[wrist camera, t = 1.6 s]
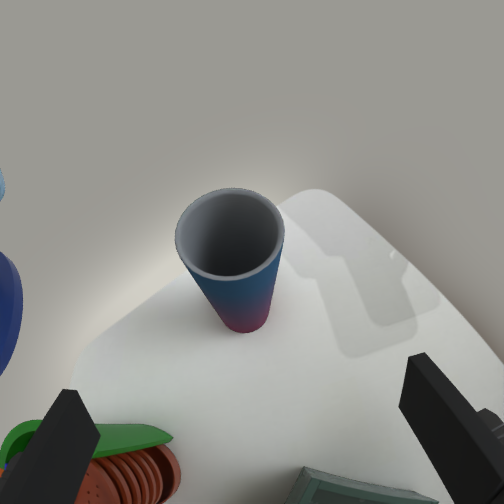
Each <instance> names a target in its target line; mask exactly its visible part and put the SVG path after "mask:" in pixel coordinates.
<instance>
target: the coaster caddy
mask: <svg viewBox="0 0 504 504" xmlns="http://www.w3.org/2000/svg"><path fill="white" fill-rule="evenodd" d="M41 422H42V420H30V421H26V422H23V423H21V424H19V425H18V426H16V427H15V428H13V429H12V430H11V431H10V433H9V434H8V435H7V437H6V438H5V440H4V442H3V444H2V447H1V450H0V477H2V476H1V475H2V473H3V471H4V470H6V466H7V464H8V463H9V461H10V459H11V458H12V457H13V456H15V455H16V454H17V453H18V452H19V451H20V452H23V451H24V450H25V448H26V446H27V445H28V443H29V441H30V440H31V438H32V436H33V435H34V433H35V431H36V430H37V428H38V427H39V425H40V423H41ZM95 426H96V428H97V429H98V431H99V433H100V435H101V437H100V439H99V442H98V444H97V447H96V449H95V451H94V454H93V456H92V459H91V461H90V464H89V466H88V469H87V471H86V474H85V476H84V479H83V481H82V484H81V486H80V489H79V492H78V494H77V497H76V500H75V502H74V504H163V503H164V502H165V501H167V500H168V499H169V498H170V497H171V496H172V495H173V494H174V493H175V492H176V491H177V489H178V487H179V484H180V480H181V472H180V467H179V464H178V461H177V459H176V457H175V456H174V454H173V453H172V452H171V451H170V450H169V449H168V448H167V447H166V446H165V445H164V443H168V442H170V441H171V440H172V438H173V437H172V436H171V435H169V434H168V433H166V432H164V431H163V430H161V429H158V428H156V427H153V426H149V425H144V424H95Z"/></svg>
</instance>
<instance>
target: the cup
mask: <svg viewBox="0 0 504 504" xmlns="http://www.w3.org/2000/svg"><path fill="white" fill-rule="evenodd" d="M284 233H285V229H284V223H283V219H282V217H281V214H280V212H279V211H278V209H277V208H276V207H275V205H274V204H273V203H272V202H271V201H269V200H268V199H267V198H265V197H264V196H262V195H261V194H259V193H256V192H254V191H250V190H246V189H241V188H226V189H220V190H216V191H212V192H210V193H207V194H205V195H203V196H201V197H200V198H198V199H196V200H195V201H194V202H193V203H192V204H190V206H188V207H187V209H186V210H185V211H184V212H183V214H182V215H181V217H180V219H179V221H178V223H177V227H176V230H175V244H176V249H177V252H178V254H179V256H180V258H181V260H182V261H183V263H184V265H185V266H186V268H187V269H188V271H189V272H190V274H191V275H192V277H193V278H194V280H195V281H196V283H197V284H198V286H199V287H200V289H201V290H202V292H203V293H204V295H205V296H206V297H207V299H208V300H209V302H210V303H211V305H212V306H213V308H214V309H215V311H216V312H217V313H218V315H219V316H220V318H221V319H222V321H223V322H224V323H225V325H226V326H227V327H228V328H230V329H231V330H233V331H235V332H239V333H249V332H253V331H255V330H257V329H259V328H260V327H261V326H262V325H263V324H264V323H265V321H266V319H267V317H268V313H269V309H270V304H271V299H272V295H273V290H274V285H275V281H276V276H277V271H278V266H279V261H280V256H281V252H282V247H283V242H284Z"/></svg>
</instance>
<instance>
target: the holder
mask: <svg viewBox="0 0 504 504" xmlns="http://www.w3.org/2000/svg"><path fill="white" fill-rule="evenodd" d="M438 503H439V501H437V500H434V499H432V498H429V497H426V496H424V495H421V494H419V493H416V492H414V491H409V490H402V489H396V488H390V487H385V486H379V485H374V484H370V483H365V482H360V481H356V480H352V479H348V478H344V477H340V476H336V475H332V474H329V473H325V472H321V471H318V470H315V469H311V468H308V467H305V466H304V467H303V468H302V471H301V473H300V475H299V477H298V479H297V481H296V483H295V485H294V487H293V489H292V490H291V492H290V494H289V496H288V498H287V500H286V502H285V504H438Z"/></svg>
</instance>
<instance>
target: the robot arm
mask: <svg viewBox="0 0 504 504" xmlns="http://www.w3.org/2000/svg"><path fill="white" fill-rule="evenodd" d="M4 192H5V183H4V179H3V175H2V172H1V170H0V201H1V199H2V198H3V196H4ZM399 409H400V410H401V412H402V414H403V415H404V417H405V418H406V420H407V422H408V423H409V425H410V427H411V428H412V430H413V432H414V433H415V435H416V437H417V439H418V440H419V442H420V444H421V445H422V447H423V449H424V450H425V452H426V454H427V456H428V457H429V459H430V461H431V463H432V464H433V466H434V468H435V469H436V471H437V473H438V475H439V477H440V478H441V480H442V482H443V484H444V485H445V487H446V489H447V491H448V493H449V494H450V496H451V498H452V500H453V502H454V504H504V423H503V422H502V420H501V419H500V418H499V417H498V416H497V415H496V414H495V413H493V412H491V411H489V410H488V409H486V408H484V409H482V410H480V411H478V412H476V411H475V409H474V408H473V407H472V406H471V405H470V403H469V402H468V401H467V400H466V399H465V398H464V396H463V395H462V394H461V393H460V392H459V391H458V389H457V388H456V387H455V386H454V385H453V384H452V383H451V381H450V380H449V379H448V378H447V377H446V376H445V375H444V373H443V372H442V371H441V370H440V369H439V368H438V367H437V366H436V364H435V363H434V362H433V361H432V360H431V359H430V358H429V357H428V355H427V354H426V353H425V352H424V353H420V354H417V355H413V356H410V357H408V362H407V368H406V374H405V379H404V384H403V389H402V393H401V398H400V402H399ZM100 437H101V435H100V433H99V431H98V429H97V428H96V426H95V424H94V422H93V420H92V419H91V417H90V415H89V413H88V411H87V409H86V407H85V405H84V403H83V401H82V399H81V397H80V395H79V393H78V391H77V390H68V389H63V390H62V391H61V392H60V394H59V396H58V397H57V399H56V400H55V402H54V403H53V405H52V406H51V408H50V409H49V411H48V412H47V414H46V416H45V417H44V419H43V420H42V422H41V423H40V425H39V427H38V428H37V430H36V431H35V433H34V435H33V436H32V438H31V440H30V441H29V443H28V445H27V446H26V448H25V450H24V451H23V452H20V451H19V452H18V453H17V454H16V455H15V456H13V457H12V458H11V459H10V461H9V463H8V464H7V466H6V470H4V471H3V473H2V475H1V476H2V477H0V504H74V502H75V500H76V497H77V494H78V492H79V489H80V486H81V484H82V481H83V479H84V476H85V474H86V471H87V469H88V466H89V464H90V461H91V459H92V456H93V454H94V451H95V449H96V447H97V444H98V442H99V439H100Z"/></svg>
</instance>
